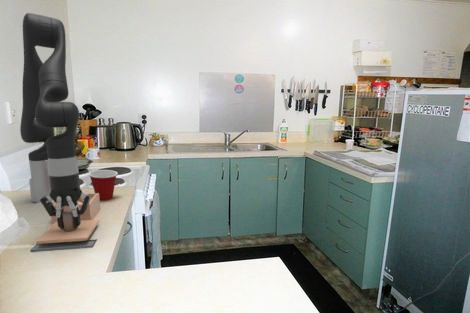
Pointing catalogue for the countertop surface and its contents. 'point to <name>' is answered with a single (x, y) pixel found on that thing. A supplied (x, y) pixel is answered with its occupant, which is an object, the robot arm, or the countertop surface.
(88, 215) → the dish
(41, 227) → the countertop surface
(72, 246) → the mat
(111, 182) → the plastic cup
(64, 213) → the lid
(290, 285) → the countertop surface
